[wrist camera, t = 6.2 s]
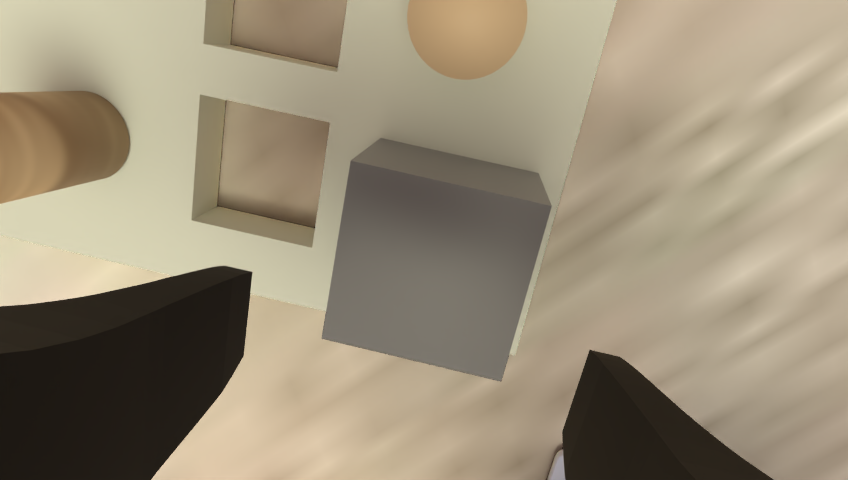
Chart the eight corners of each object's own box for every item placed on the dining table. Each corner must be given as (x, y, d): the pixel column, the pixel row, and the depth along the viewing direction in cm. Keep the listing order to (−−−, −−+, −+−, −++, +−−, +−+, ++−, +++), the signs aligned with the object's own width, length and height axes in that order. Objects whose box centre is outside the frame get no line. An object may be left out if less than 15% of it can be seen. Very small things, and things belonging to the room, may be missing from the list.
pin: (136, 109, 19) (-19, 121, 13) (120, 192, 20) (-34, 236, 14) (54, 77, 19) (-137, 75, 13) (40, 161, 20) (-144, 193, 14)
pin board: (633, -102, 17) (687, -160, 13) (513, 330, 22) (519, 404, 18) (13, -223, 18) (-153, -320, 14) (27, 217, 23) (-92, 259, 18)
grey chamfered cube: (538, 173, 18) (551, 206, 14) (499, 316, 20) (501, 381, 16) (380, 137, 18) (350, 160, 15) (354, 282, 20) (321, 338, 16)
